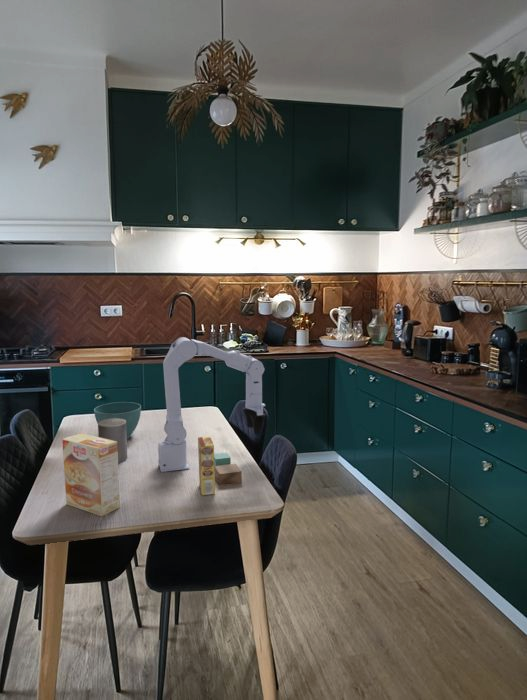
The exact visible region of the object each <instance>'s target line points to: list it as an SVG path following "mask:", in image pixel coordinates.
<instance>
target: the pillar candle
mask: <svg viewBox="0 0 527 700" xmlns="http://www.w3.org/2000/svg"><path fill="white" fill-rule="evenodd" d="M97 433H98V434H97V437H100V438H104V439H108V440H112V441H117V450H118V464H120V463H122V462H125V461H126V460H127V458H128V441H127V440H128V438H127V434H126V420H123V419H117V418H113V419H112V418H111V419H106V420H102V421H100V422H99V423H97Z"/></svg>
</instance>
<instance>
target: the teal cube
mask: <svg viewBox="0 0 527 700" xmlns="http://www.w3.org/2000/svg"><path fill="white" fill-rule="evenodd" d="M231 462H232V461H231V457H230V455H229V453H227V452H223V453H222V452H220V453H214V469H215V466H221V465H229V464H232V463H231Z"/></svg>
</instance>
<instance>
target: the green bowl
mask: <svg viewBox="0 0 527 700" xmlns="http://www.w3.org/2000/svg"><path fill="white" fill-rule="evenodd" d="M141 412H142V405H141V404H140V403H137V402H130V401H128V402H127V401H119V402H109V403H105V404H101V405H98V406H96V407H95V408H94V409H93V413H94V417H95V420H96V423H97V424H98V423H99V422H100V421H102V420H106V419H111V418H112V419H113V418H117V419H123V420H126V434H127V439H128V438H130V437H131V435H132V434H134V432H135V430H136V428H137V426H138V424H139V421H140V418H141Z"/></svg>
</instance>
